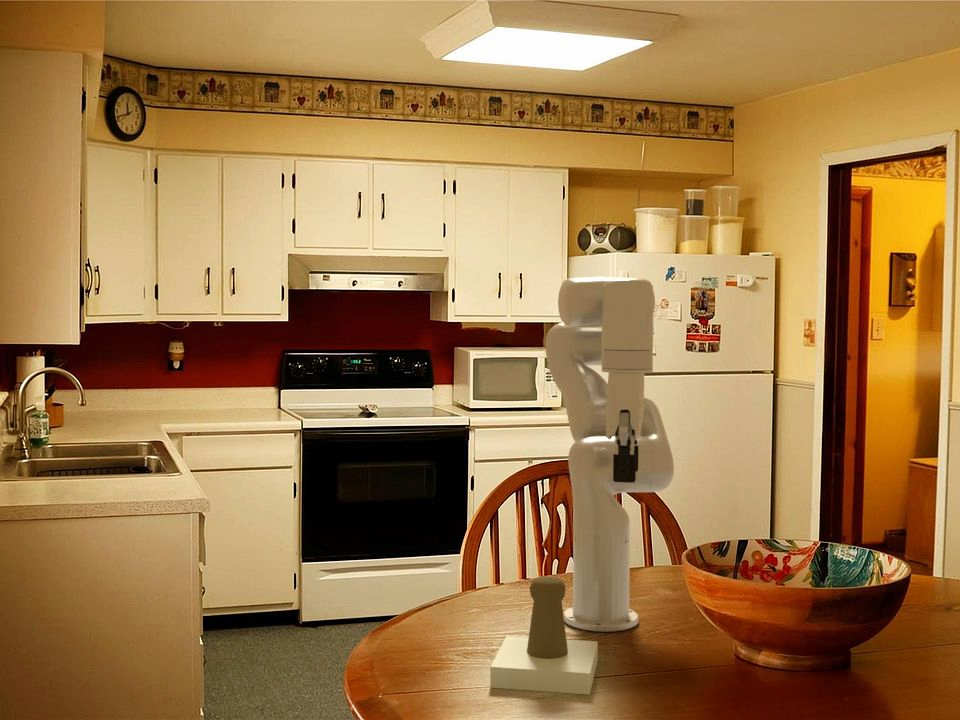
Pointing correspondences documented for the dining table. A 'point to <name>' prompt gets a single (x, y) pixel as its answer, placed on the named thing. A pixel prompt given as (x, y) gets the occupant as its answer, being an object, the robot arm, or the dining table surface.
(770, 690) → the dining table surface
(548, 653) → the cork
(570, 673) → the cream block
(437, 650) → the dining table surface
